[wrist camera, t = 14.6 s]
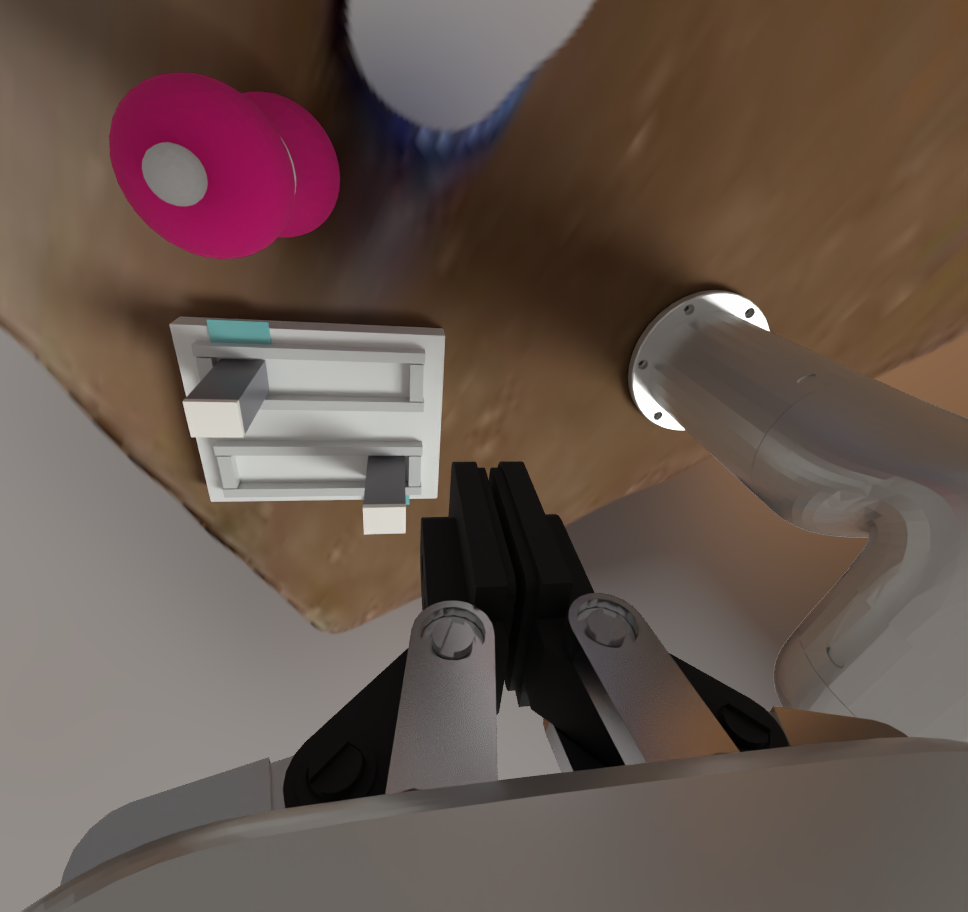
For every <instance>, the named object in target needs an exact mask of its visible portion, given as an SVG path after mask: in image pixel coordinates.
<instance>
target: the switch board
mask: <svg viewBox="0 0 968 912" xmlns="http://www.w3.org/2000/svg"><path fill="white" fill-rule="evenodd" d="M169 326H170V330H171V334H172V338H173V343H174V347H175V351H176V355H177V360H178V364H179V368H180V372H181V376H182V381H183V385H184V389H185V393H186V397H187V396H188V395H189V394H190V393H191V391H192V390H193V389H194V388H195V387H196V386H197V385H198V384H199V383H200V381H201V380H202V379H203V378H204V377H205V376H206V375H207V374H208V373H209V371H210V370H211V369H212V368H213V367H214V366H215V365H216V364H217V362H218V361H219V360H220V359H243V360H265V362H266V369H267V376H268V383H269V390H270V391H269V393H268V394H267V396H266V398H265V400H264V402H263V403H262V405H261V407H260V409H259V410H258V412H257V414H256V416H255V418H254V419H253V421H252V423H251V425H250V427H249V428H248V430H247V432H246V434H245V435H244V437H243V438H213V437H196V440H197V444H198V449H199V453H200V457H201V461H202V466H203V470H204V474H205V478H206V483H207V487H208V491H209V495H210V500H211V502H224V501H290V500H356V499H363V500H364V492H365V482H366V472H367V462H368V456H405V495H406V505H409V499H422V498H437V491H438V471H439V451H440V430H441V410H442V390H443V370H444V349H445V333H444V330H443V328H426V327H404V326H381V325H359V324H337V323H315V322H293V321H271V320H249V319H227V318H205V317H182V316H180V317H179V318H177V319H176V320H174V321H173V322H172V323H170V324H169Z"/></svg>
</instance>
